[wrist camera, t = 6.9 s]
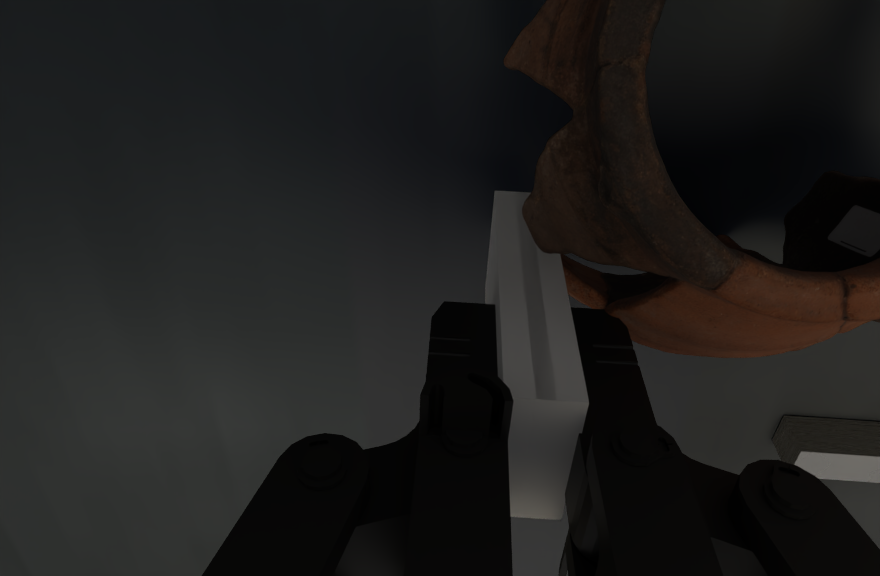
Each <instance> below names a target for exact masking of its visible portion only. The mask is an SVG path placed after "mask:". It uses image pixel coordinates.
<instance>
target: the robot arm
mask: <svg viewBox="0 0 880 576" xmlns="http://www.w3.org/2000/svg"><path fill="white" fill-rule="evenodd" d="M529 195H530V193H528V192H512V191H495V193H494V203H493V214H492V224H491V234H490V245H489V255H488V265H487V275H486V286H485V304H479V303H462V302H446V301H444V302H443V303H442V305H441V306H440V307H439V309H438V310H437V311H436V312H435V314H434V315H433V316H432V321H431V332H430V342H429V354H428V363H427V374H426V382H425V385H424V387H423V390H422V392H421V395H420V421H419V423H418V424H417V426H416V427H415V428H414V429H413V430H412V431H411V432H410V433H409V434H408V435H407V436H405V437H403V438H401V439H400V440H398V441H396V442H393V443H390V444H387V445H383V446H379V447H374V448H369V449H365V450H363V449H362V448H361V447H360V446H359V444H358V443H357V442H355V441H353V440H351V439H349V438H347V437H345V436H343V435H336V434H327V433H323V434H318V435H313V436H307V437H305V438H303V439H301V440H299V441H297V442H296V443H294V444H292V445H291V446H290V447H289V448H288V449H287V450H286V451H285V452H284V453H283V454H282V455H281V456H280V457H279V459H278V460H277V462H276V463H275V465H274V466H273V468H272V469H271V471H270V472H269V474H268V475H267V477H266V478H265V480H264V482H263V483H262V485H261V486H260V488H259V489H258V491H257V492H256V494H255V495H254V497H253V498H252V500H251V501H250V503H249V504H248V506H247V507H246V509H245V511H244V512H243V514H242V515H241V517H240V518H239V520H238V521H237V523H236V524H235V526H234V527H233V529H232V530H231V532H230V533H229V535H228V537H227V538H226V540H225V541H224V543H223V544H222V546H221V547H220V549H219V550H218V552H217V553H216V555H215V556H214V558H213V559H212V561H211V562H210V564H209V566H208V567H207V569H206V570H205V572H204V573H203V575H202V576H513V575H512V546H511V517H521V518H537V519H552V520H561V519H562V515H563V511H564V507H565V503H566V507H567V515H568V522H569V530H568V534H567V538H566V542H565V546H564V550H563V554H562V558H561V562H560V567H559V576H566V574H567V570H568V576H880V549H879V548H878V547H877V546H876V544H875V543H874V542H873V541H872V540H871V538H870V537H869V536H868V535H867V534H866V532H865V531H864V530H863V529H862V528H861V526H860V525H859V524H858V523H857V522H856V520H855V519H854V518H853V517H852V515H851V514H850V513H849V512H848V511H847V509H846V508H845V507H844V506H843V505H842V503H841V502H840V501H839V500H838V499H837V497H836V496H835V495H834V494H833V493H832V491H831V490H830V489H829V488H828V487H827V486H826V485H824V484H823V483H822V482H821V481H820V480H819V479H818V478H817V477H816V476H814V475H813V474H811V473H809V472H807V471H805V470H804V469H802V468H800V467H798V466H796V465H793V464H790V463H786V462H783V461H780V460H759V461H756V462H753V463H751V464H748V465H747V466H746V467H745V469H744V470H743V471H742V472H741V474H740V475H737V474H734V473H731V472H727V471H724V470H721V469H718V468H715V467H712V466H709V465H705V464H703V463H700V462H698V461H696V460H693V459H691V458H689V457H688V456H686V455H684V454H683V453H682V452H681V450H680V448H679V446H678V445H677V443H676V441H675V440H674V438H673V437H672V436H671V435H670V434H668V433H667V432H666V431H665V430H664V429H663V428H661V427H660V426H658V425H657V424H656V421H655V417H654V414H653V411H652V407H651V404H650V401H649V397H648V394H647V391H646V387H645V384H644V381H643V378H642V374H641V371H640V368H639V366H638V361H637V358H636V354H635V351H634V350H633V344H632V341H631V338H630V334H629V331H628V328H627V326H626V325H625V324H624V323H623V322H622V321H621V320H620V319H619V318H616V317H613V316H611V315H609V314H608V313H607V312H606V311H605V309H589V308H572V307H570V302H569V297H568V292H567V287H566V281H565V276H564V271H563V266H562V261H561V256H560V254H555V253H552V254H548V253H544V252H542V251H541V250H540V249H539V248H538V246H537V245H536V244H535V242H534V240H533V238H532V235H531V233H530V231H529V229H528V227H527V225H526V222H525V220H524V218H523V215H522V207H523V204H524V202H525V200H526V199H527V198H528V196H529Z"/></svg>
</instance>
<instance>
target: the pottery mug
mask: <svg viewBox="0 0 880 576" xmlns="http://www.w3.org/2000/svg"><path fill="white" fill-rule="evenodd" d="M665 1H666V0H546V2H545V3H544V5H543V6H542V7H541V8H540V9H539V11H538V13H537V14H536V16H535V17H534V19H533V20H532V21H531V22H530V23H529V24H528V25H527V26H525V27H524V28H523V30H522V31H521V32H520V34H519V35H518V37H517V38H516V40H515V41H514V43H513V45H512V46H511V48H510V49H509V51H508V53H507V54H506V56H505V58H504V61H503V62H504V65H505V66H506V67H507V68H509V69H511V70H519V71H521V72H522V73H525V74H526V75H528V76H529V77H531V78H532V79H533V80H534V81H535V82H537V83H538V84H540V85H542V86H544V87H546V88H547V89H549V90H551V91H552V92H553V93H554V94H556V95H557V96H558V97H560V98H562V99H563V100H564V101H565V102H566V103H567V104H568V105H569V106H570V107H571V108H572V109H573V117H572V119H571V120H570V122H569V123H567V124H566V125H565V126H564V127H563V128H561V129H560V130H559V131H557V132H556V133H555V134H553V135H552V136H551V137H550V138H549V139H548V141H547V144H546V146H545V148H544V150H543V152H542V154H541V155H540V157H539V159H538V161H537V165H536V170H535V182H534V188H533V191H532V192H531V193H530V195H529V196H528V198H527V199H526V200H525V202H524V204H523V207H522V215H523V218H524V220H525V222H526V225H527V227H528V229H529V231H530V233H531V235H532V238H533V240H534V242H535V244H536V245H537V246H538V248H539V249H540V250H541V251H542V252H544V253H548V254H552V253H555V254H560V256H561V261H562V266H563V271H564V276H565V281H566V287H567V292H568V294H569V295H570V296H572V297H573V298H575V299H576V300H578V301H579V302H581V303H583V304H585V305H587V306H589V307H591V308H592V309H605V311H606V312H607V313H608V314H609V315H611V316H613V317H616V318H619V319H620V320H621V321H622V322H623V323H624V324H625V325H626V326H627V328H628V331H629V334H630V338H631V340H632V341H635V342H637V343H639V344H641V345H645V346H648V347H651V348H654V349H658V350H661V351H664V352H669V353H675V354H683V355H694V356H707V357H718V358H747V357H761V356H769V355H775V354H780V353H785V352H787V351H796V350H800V349H804V348H806V347H808V346H811V345H814V344H815V343H818V342H821V341H824V340H827V339H829V338H831V337H833V336H834V335H835V334H836V333H845V332H847V331H850V330H852V329H854V328H856V327H858V326H860V325H862V324H864V323H867V322H869V321H871V320H872V321H875V322H880V180H879V179H877V178H871V177H865V176H862V177H854V176H848V175H845V174H843V173H841V172H838V171H829V172H825V173H824V174H823V175H822V176H821V177H820V178H819V179H818V180H817V182H816V183H815V184H814V186H813V187H812V189H811V190H810V191H809V193H808V194H807V195H806V196H805V197H804V198H803V199H802V200H801V201H800V202H799V203H798V204H797V205H795V206H794V207H793V208H792V209H791V210H790V211H789V212H788V213H787V215H786V216H785V219H784V225H785V231H786V235H785V242H784V246H783V264H778V263H775V262H773V261H771V260H769V259H767V258H766V257H764V256H762V255H761V254H759V253H758V252H755V251H752V250H747V249H743V248H741V247H740V246H739V245H738V244H737V243H736V242H734V241H733V240H732V239H731V238H730V237H728V236H726V235H717V236H715V235H714V234H713V233H711V232H710V231H709V230H708V229H707V228H706V227H705V226H704V225H703V224H702V223H701V222H700V221H699V220H698V219H697V218H696V217H695V215H694V214H693V213H692V212H691V211H690V210H689V208H688V207H687V206H686V204H685V203H684V202H683V200H682V199H681V197H680V196H679V194H678V193H677V191H676V189H675V187H674V185H673V183H672V181H671V180H670V177H669V175H668V173H667V171H666V168H665V165H664V163H663V160H662V158H661V156H660V153H659V151H658V148H657V145H656V141H655V137H654V134H653V129H652V124H651V118H650V114H649V107H648V93H647V88H646V81H645V70H646V66H647V63H648V58H649V54H650V50H651V42H652V39H653V33H654V30H655V28H656V25H657V23H658V22H659V19H660V16H661V13H662V10H663V7H664V4H665ZM569 253H572V254H575V255H577V256H579V257H581V258H583V259H586V260H588V261H592V262H596V263H599V264H604V265H616V266H625V267H628V268H632V269H636V270H640V271H645V272H647V273H643V274H638V275H615V274H610V273H602V272H600V271H597V270H595V269H592V268H589V267H587V266H584V265H582V264H580V263H578V262H576V261H574V260H572V259H570V258H568V257H567V256H565V255H564V254H569Z"/></svg>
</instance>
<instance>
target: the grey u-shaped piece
mask: <svg viewBox="0 0 880 576" xmlns="http://www.w3.org/2000/svg"><path fill="white" fill-rule="evenodd" d="M772 441H773V443H774V446H775V448H776V450H777V453H778V455H779V457H780V459H781V461H783V462H786V463H790V464H793V465H796V466H798V467H800V468H802V469H804V470H805V471H807V472H809V473H811V474H813V475H814V476H816V477H817V478H819V479H833V480H847V481H861V482H875V483H880V422H875V421H860V420H845V419H830V418H815V417H800V416H785V415H784V416H783V418H782V420H781V422H780V424H779V427H778V429H777V431H776V433H775V435H774V437H773V439H772Z"/></svg>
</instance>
